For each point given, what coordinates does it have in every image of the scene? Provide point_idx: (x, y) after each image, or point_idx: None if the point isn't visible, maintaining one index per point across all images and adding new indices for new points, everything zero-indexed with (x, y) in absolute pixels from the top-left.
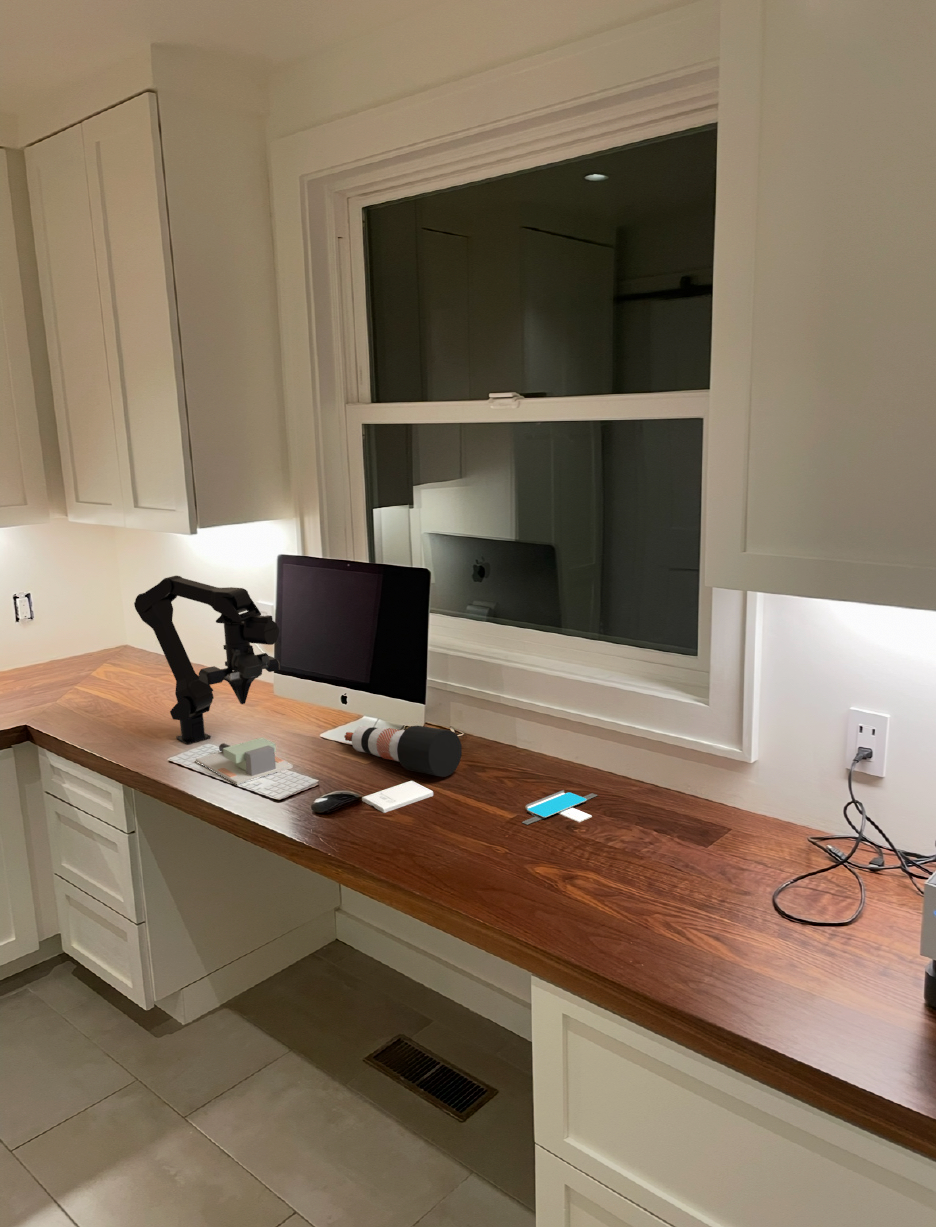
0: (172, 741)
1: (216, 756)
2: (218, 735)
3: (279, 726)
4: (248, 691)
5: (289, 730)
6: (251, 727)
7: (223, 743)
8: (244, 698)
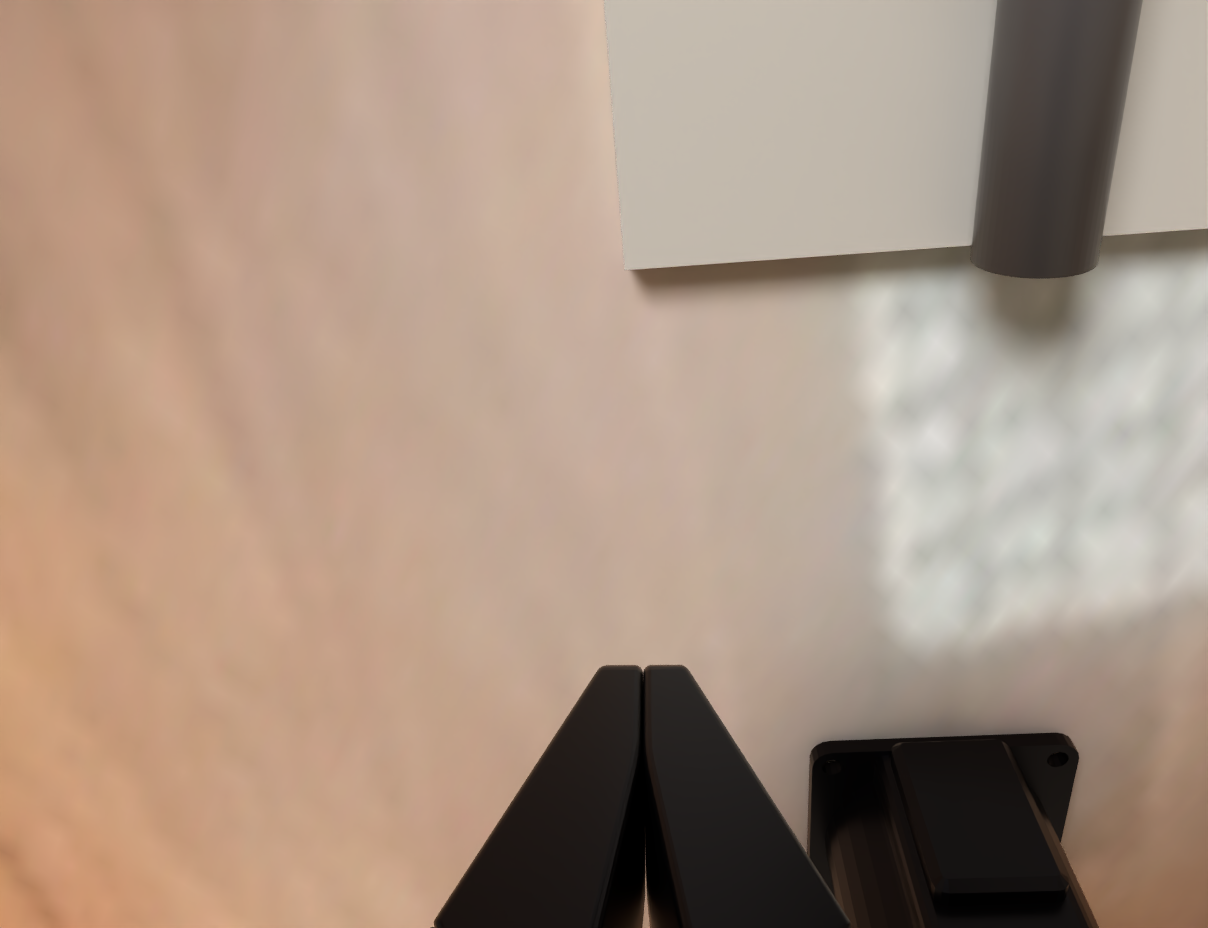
0: (1090, 869)
1: (1201, 104)
2: None
3: (111, 623)
4: (449, 899)
5: (33, 453)
6: (371, 757)
7: (1046, 264)
8: (613, 752)
